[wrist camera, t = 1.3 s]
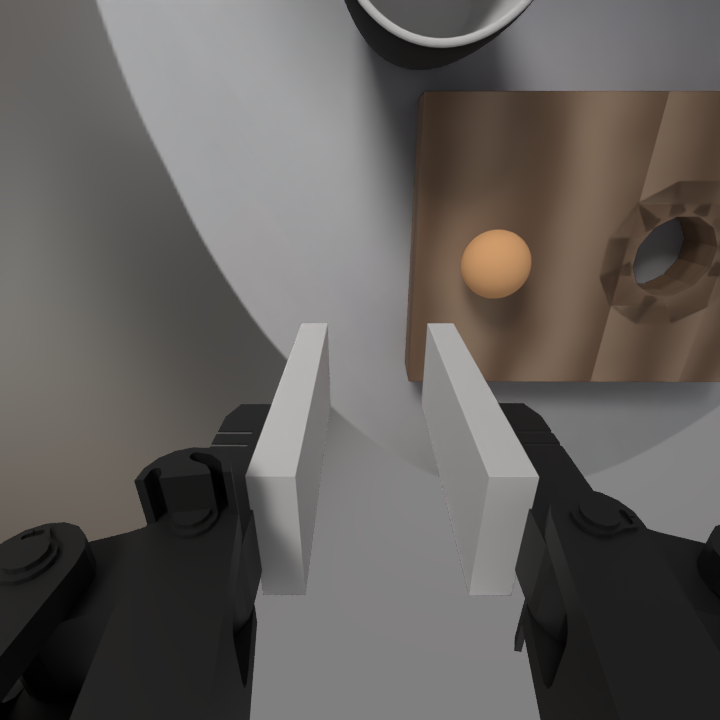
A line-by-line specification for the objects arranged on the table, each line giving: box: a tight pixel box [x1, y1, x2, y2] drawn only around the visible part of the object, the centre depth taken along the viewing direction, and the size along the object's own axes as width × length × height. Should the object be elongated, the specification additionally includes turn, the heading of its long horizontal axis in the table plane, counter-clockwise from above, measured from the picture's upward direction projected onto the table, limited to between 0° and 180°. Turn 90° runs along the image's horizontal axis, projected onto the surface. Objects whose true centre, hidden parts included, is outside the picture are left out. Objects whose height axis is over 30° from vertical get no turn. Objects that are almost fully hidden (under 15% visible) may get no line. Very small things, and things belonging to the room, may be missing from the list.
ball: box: [461, 229, 532, 299], centre depth 25 cm, size 4×4×4 cm
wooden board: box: [405, 91, 720, 382], centre depth 28 cm, size 23×18×3 cm
